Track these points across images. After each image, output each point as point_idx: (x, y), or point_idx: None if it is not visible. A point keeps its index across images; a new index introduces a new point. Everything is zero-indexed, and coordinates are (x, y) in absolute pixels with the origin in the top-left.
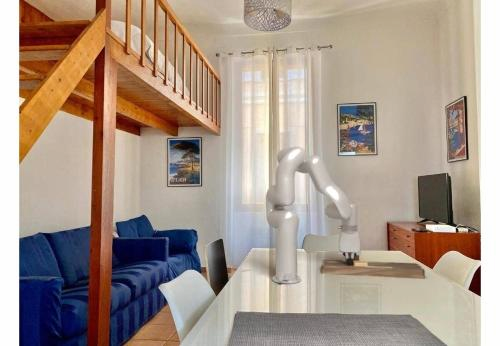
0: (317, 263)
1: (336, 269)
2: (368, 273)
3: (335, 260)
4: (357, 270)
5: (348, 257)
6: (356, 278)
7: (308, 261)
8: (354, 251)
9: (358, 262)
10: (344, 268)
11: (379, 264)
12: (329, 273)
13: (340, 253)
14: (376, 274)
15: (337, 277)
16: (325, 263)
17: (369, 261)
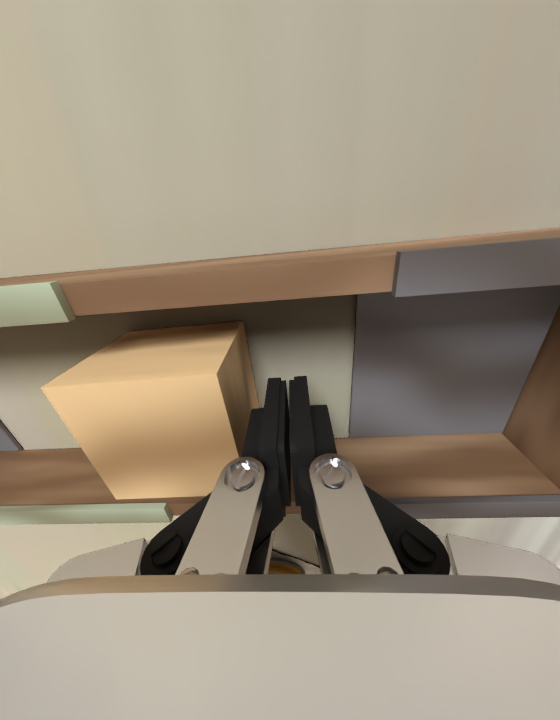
0: (504, 531)
1: (469, 241)
2: (82, 273)
3: (440, 502)
4: (188, 267)
5: (309, 472)
6: (190, 57)
7: (550, 557)
8: (102, 631)
9: (172, 422)
10: (360, 251)
11: (39, 491)
12: (521, 232)
13: (503, 560)
14: (9, 278)
15: (462, 17)
16: (522, 467)
17: (110, 518)
